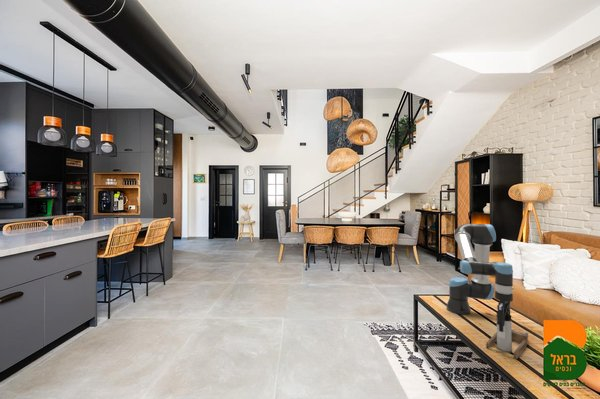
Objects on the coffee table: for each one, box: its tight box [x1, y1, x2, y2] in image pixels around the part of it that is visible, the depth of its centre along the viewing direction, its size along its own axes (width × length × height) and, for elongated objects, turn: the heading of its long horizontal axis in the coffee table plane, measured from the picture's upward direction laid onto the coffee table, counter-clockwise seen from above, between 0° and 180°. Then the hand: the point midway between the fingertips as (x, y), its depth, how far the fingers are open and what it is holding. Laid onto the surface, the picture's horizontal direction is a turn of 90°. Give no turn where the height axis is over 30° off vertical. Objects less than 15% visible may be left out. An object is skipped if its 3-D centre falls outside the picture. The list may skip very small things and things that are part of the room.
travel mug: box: [496, 313, 513, 354], centre depth 139 cm, size 6×7×20 cm
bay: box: [485, 329, 529, 360], centre depth 144 cm, size 13×27×5 cm, turn 128°
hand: (504, 334), depth 139 cm, fingers open, 7 cm apart
